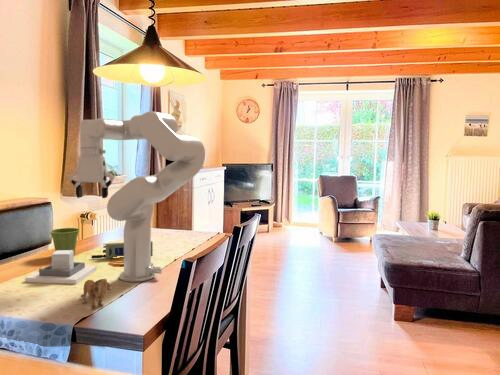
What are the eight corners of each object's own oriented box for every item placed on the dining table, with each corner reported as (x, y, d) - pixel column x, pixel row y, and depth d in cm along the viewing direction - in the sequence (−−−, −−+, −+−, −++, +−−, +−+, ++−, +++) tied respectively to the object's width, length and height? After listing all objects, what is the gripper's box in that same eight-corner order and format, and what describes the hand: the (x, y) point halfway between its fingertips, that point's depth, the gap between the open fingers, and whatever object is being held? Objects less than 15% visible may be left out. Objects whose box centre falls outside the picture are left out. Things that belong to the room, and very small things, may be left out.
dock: (96, 269, 148) (96, 261, 147) (76, 283, 132) (76, 274, 132) (51, 268, 149) (51, 259, 148) (25, 281, 133) (25, 272, 132)
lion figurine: (115, 308, 113) (114, 278, 112) (98, 313, 108) (98, 283, 108) (88, 295, 122) (88, 268, 121) (72, 300, 117) (71, 272, 117)
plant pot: (82, 251, 174) (82, 227, 173) (77, 258, 162) (77, 232, 161) (54, 252, 171) (53, 227, 170) (46, 260, 159) (46, 233, 158)
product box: (56, 269, 142) (56, 250, 142) (74, 268, 144) (74, 249, 143) (51, 274, 136) (51, 254, 136) (69, 273, 138) (69, 254, 137)
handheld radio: (152, 257, 169) (91, 261, 160) (151, 255, 172) (91, 259, 163) (152, 242, 168) (91, 245, 160) (151, 240, 172) (91, 243, 163)
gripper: (117, 153, 149) (118, 196, 150) (73, 152, 149) (74, 196, 151) (110, 153, 141) (110, 199, 143) (63, 152, 142) (64, 198, 143)
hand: (92, 197), depth 147 cm, fingers open, 9 cm apart
